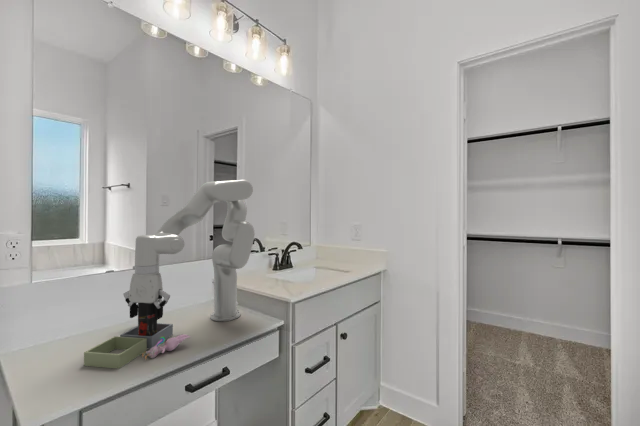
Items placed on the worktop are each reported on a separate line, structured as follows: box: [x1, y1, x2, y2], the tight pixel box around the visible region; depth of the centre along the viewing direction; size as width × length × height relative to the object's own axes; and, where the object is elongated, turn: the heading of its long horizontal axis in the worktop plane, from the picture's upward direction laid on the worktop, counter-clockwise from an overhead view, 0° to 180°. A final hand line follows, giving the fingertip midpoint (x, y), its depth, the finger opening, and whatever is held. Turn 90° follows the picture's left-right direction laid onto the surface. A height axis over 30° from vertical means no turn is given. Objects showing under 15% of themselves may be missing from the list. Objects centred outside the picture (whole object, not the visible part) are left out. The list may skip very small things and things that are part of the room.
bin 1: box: [83, 335, 148, 369], centre depth 97 cm, size 12×12×4 cm
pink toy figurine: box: [141, 333, 191, 361], centre depth 101 cm, size 6×6×15 cm
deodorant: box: [137, 303, 158, 336], centre depth 109 cm, size 6×6×15 cm
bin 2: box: [119, 322, 174, 350], centre depth 109 cm, size 12×12×4 cm
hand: (146, 317), depth 109 cm, fingers open, 9 cm apart
